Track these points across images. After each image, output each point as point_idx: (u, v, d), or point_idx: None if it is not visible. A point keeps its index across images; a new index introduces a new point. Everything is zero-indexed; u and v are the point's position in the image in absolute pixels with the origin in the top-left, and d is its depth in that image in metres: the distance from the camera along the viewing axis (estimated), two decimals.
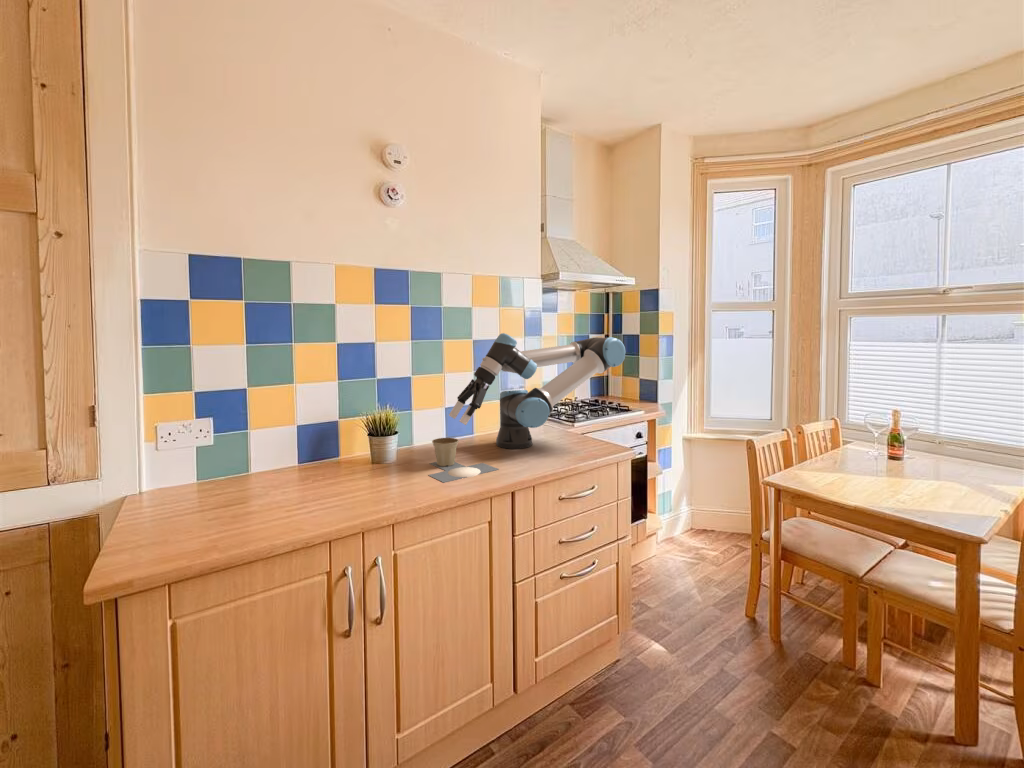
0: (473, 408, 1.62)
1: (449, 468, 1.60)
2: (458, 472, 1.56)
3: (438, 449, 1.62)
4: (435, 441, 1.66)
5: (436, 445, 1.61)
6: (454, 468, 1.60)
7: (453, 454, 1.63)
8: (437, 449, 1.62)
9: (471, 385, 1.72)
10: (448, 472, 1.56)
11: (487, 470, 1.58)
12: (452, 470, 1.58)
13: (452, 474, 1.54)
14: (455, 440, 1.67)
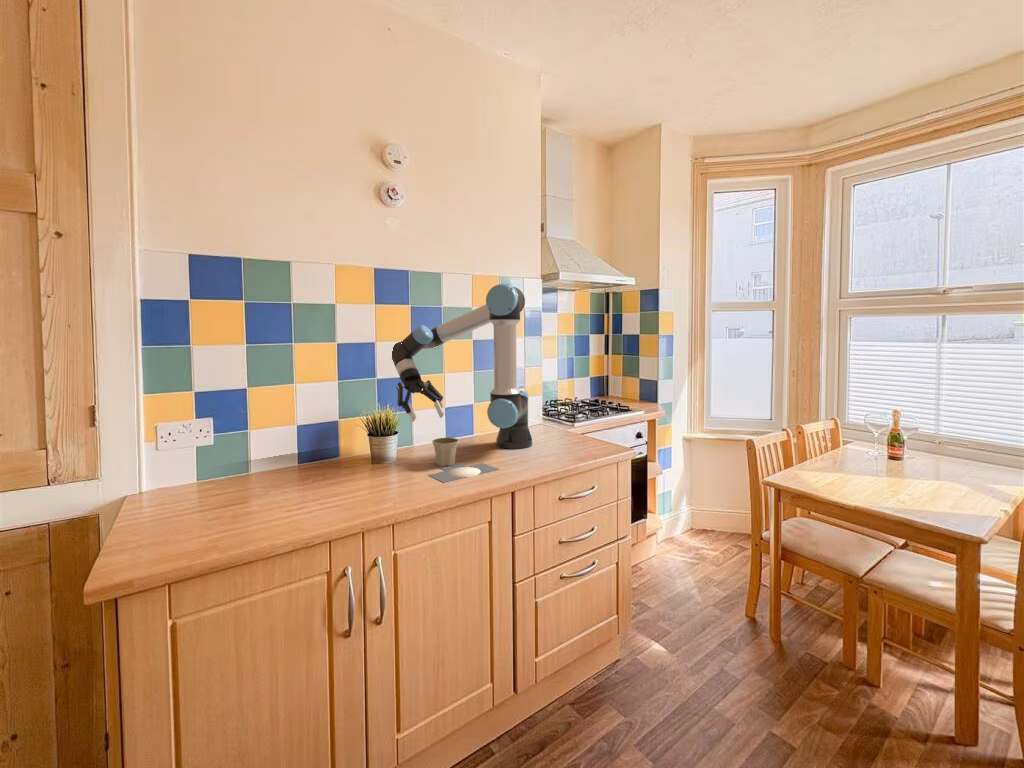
0: (404, 406, 1.71)
1: (449, 468, 1.60)
2: (458, 472, 1.56)
3: (438, 449, 1.62)
4: (435, 441, 1.66)
5: (436, 445, 1.61)
6: (454, 468, 1.60)
7: (453, 454, 1.63)
8: (437, 449, 1.62)
9: None
10: (448, 472, 1.56)
11: (487, 470, 1.58)
12: (452, 470, 1.58)
13: (452, 474, 1.54)
14: (455, 440, 1.67)
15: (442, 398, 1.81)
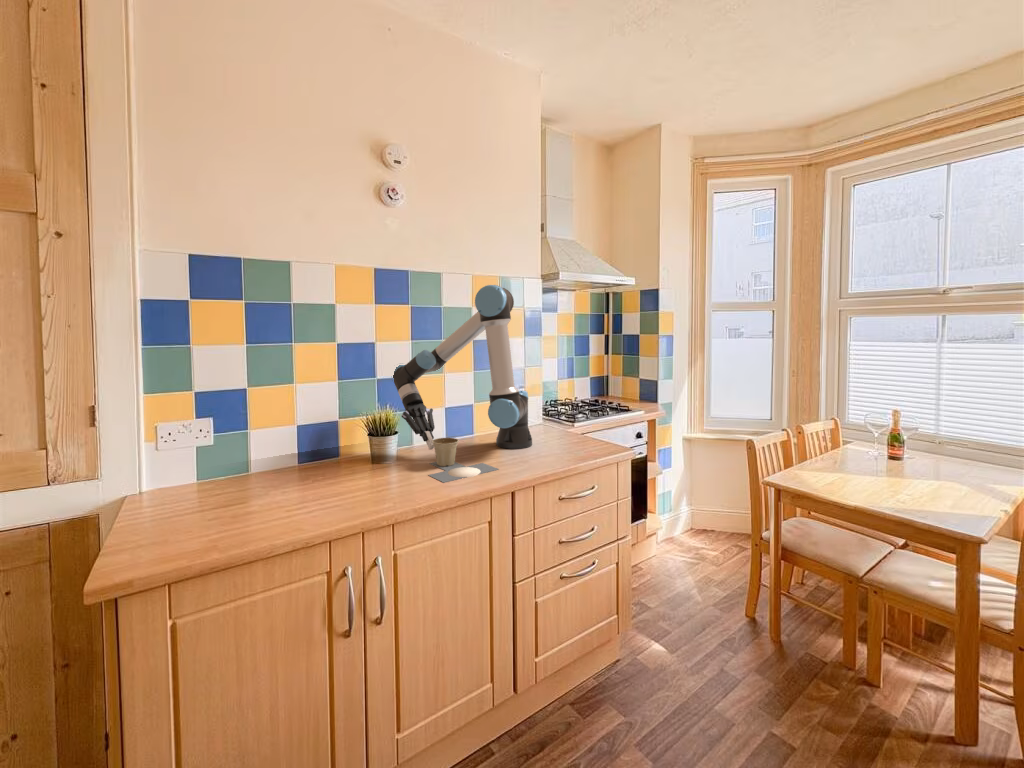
0: (421, 434, 1.74)
1: (449, 468, 1.60)
2: (458, 472, 1.56)
3: (438, 449, 1.62)
4: (435, 441, 1.66)
5: (436, 445, 1.61)
6: (454, 468, 1.60)
7: (453, 454, 1.63)
8: (437, 449, 1.62)
9: None
10: (448, 472, 1.56)
11: (487, 470, 1.58)
12: (452, 470, 1.58)
13: (452, 474, 1.54)
14: (455, 440, 1.67)
15: (433, 428, 1.77)
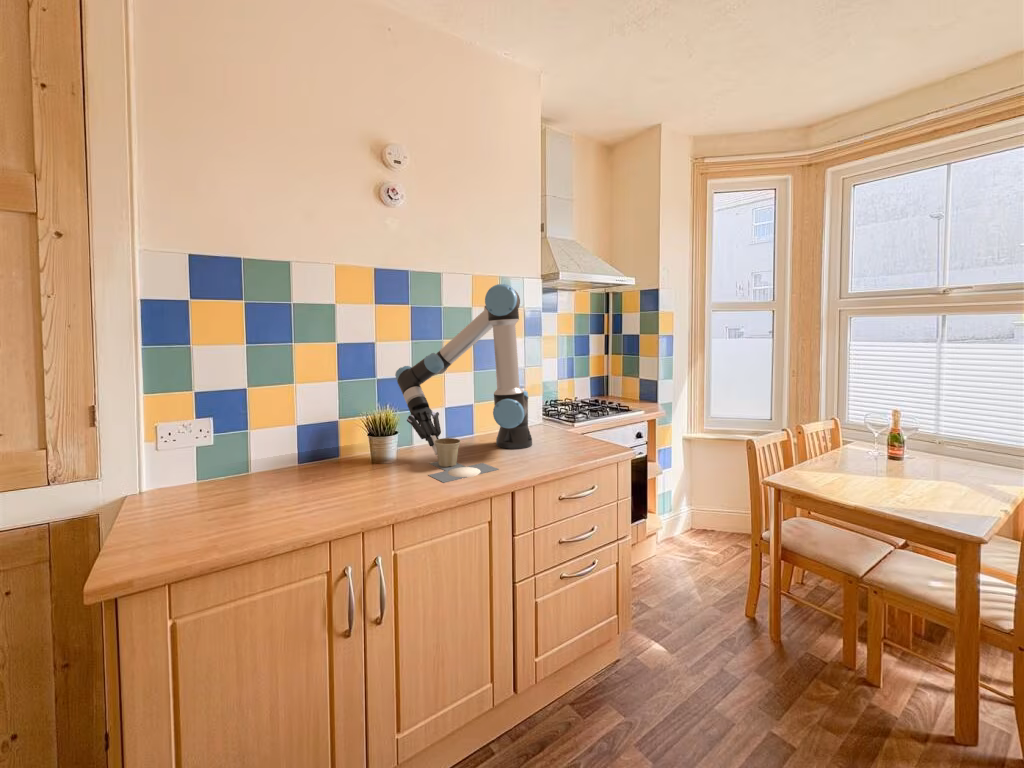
0: (427, 439, 1.69)
1: (449, 468, 1.60)
2: (458, 472, 1.56)
3: (440, 450, 1.61)
4: (436, 442, 1.65)
5: (439, 446, 1.60)
6: (454, 468, 1.60)
7: (456, 454, 1.63)
8: (440, 450, 1.61)
9: None
10: (448, 472, 1.56)
11: (487, 470, 1.58)
12: (452, 470, 1.58)
13: (452, 474, 1.54)
14: (456, 440, 1.67)
15: (439, 433, 1.72)
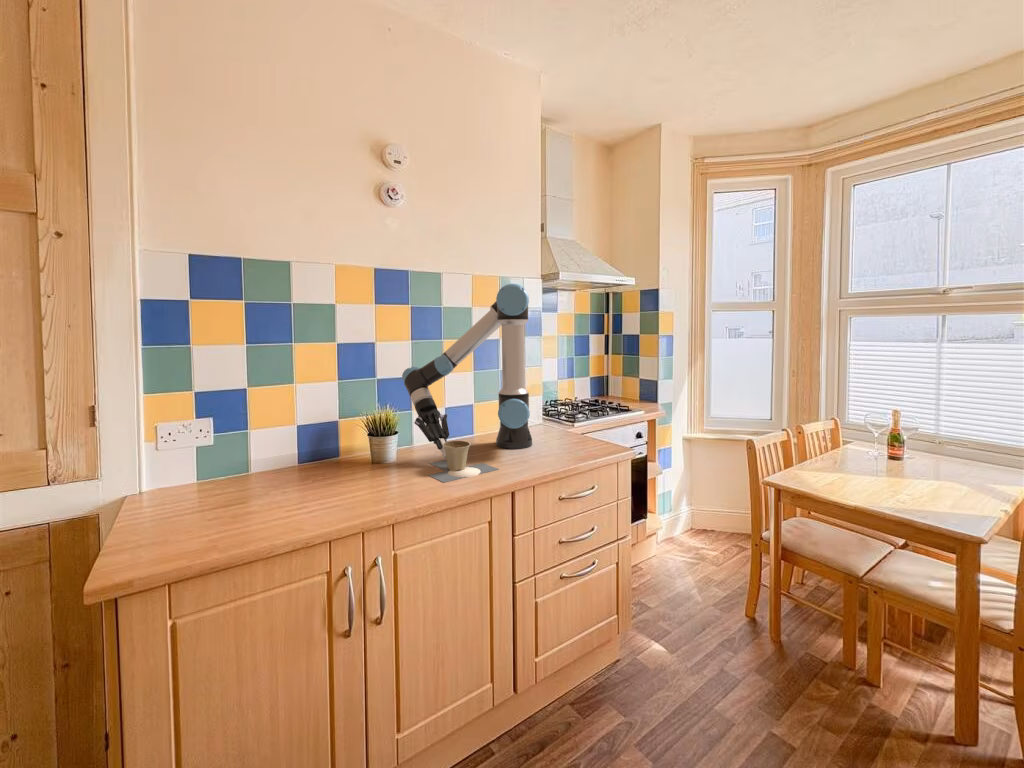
0: (435, 441, 1.65)
1: None
2: (458, 472, 1.56)
3: (450, 453, 1.56)
4: (445, 444, 1.60)
5: (449, 449, 1.56)
6: None
7: (466, 457, 1.59)
8: (450, 453, 1.56)
9: None
10: (448, 472, 1.56)
11: (487, 470, 1.58)
12: (452, 470, 1.58)
13: (452, 474, 1.54)
14: (465, 443, 1.63)
15: (447, 435, 1.67)
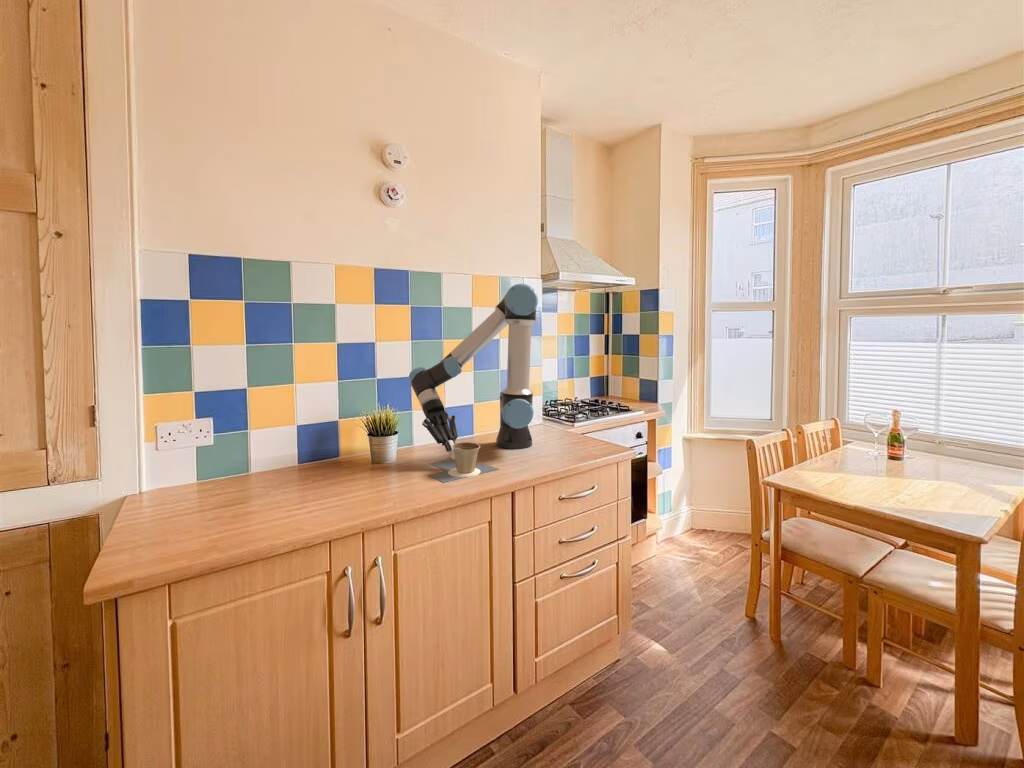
0: (444, 443, 1.61)
1: (449, 468, 1.60)
2: (458, 472, 1.56)
3: (460, 455, 1.53)
4: (454, 446, 1.57)
5: (459, 451, 1.53)
6: (454, 468, 1.60)
7: (475, 460, 1.56)
8: (459, 455, 1.53)
9: None
10: (448, 472, 1.56)
11: (487, 470, 1.58)
12: (452, 470, 1.58)
13: (452, 474, 1.54)
14: (474, 445, 1.60)
15: (456, 437, 1.64)
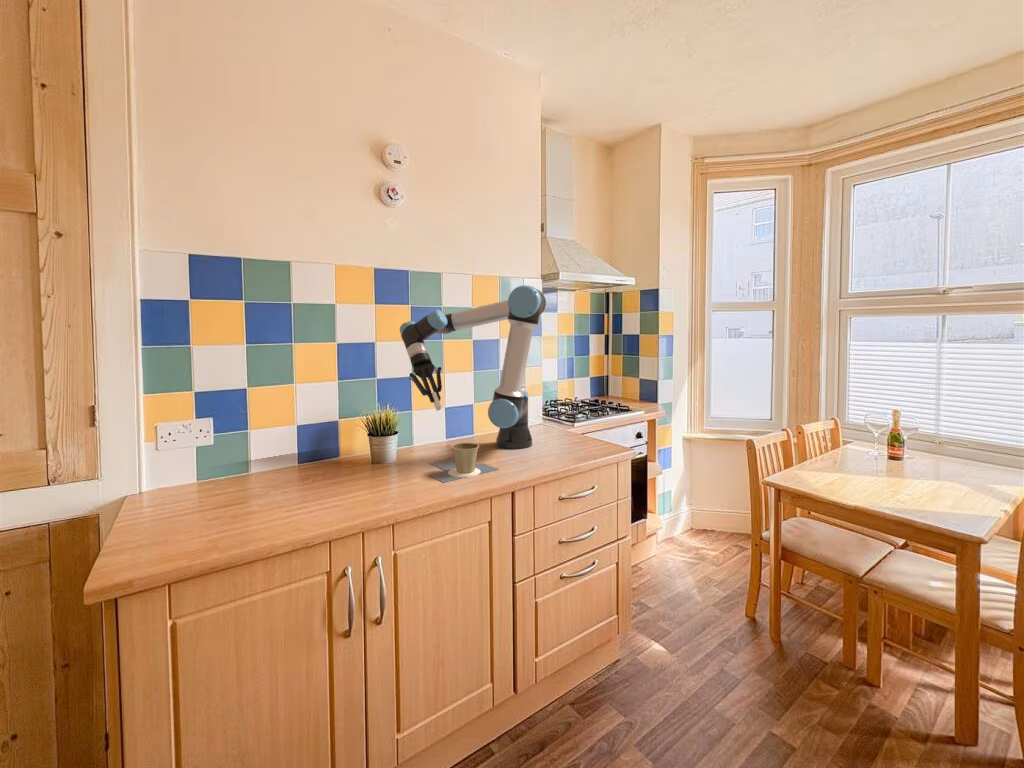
0: (428, 395, 1.74)
1: (449, 468, 1.60)
2: (458, 472, 1.56)
3: (459, 455, 1.53)
4: (453, 447, 1.58)
5: (458, 451, 1.53)
6: (454, 468, 1.60)
7: (475, 459, 1.56)
8: (459, 455, 1.53)
9: None
10: (448, 472, 1.56)
11: (487, 470, 1.58)
12: (452, 470, 1.58)
13: (452, 474, 1.54)
14: (473, 445, 1.60)
15: (440, 389, 1.76)
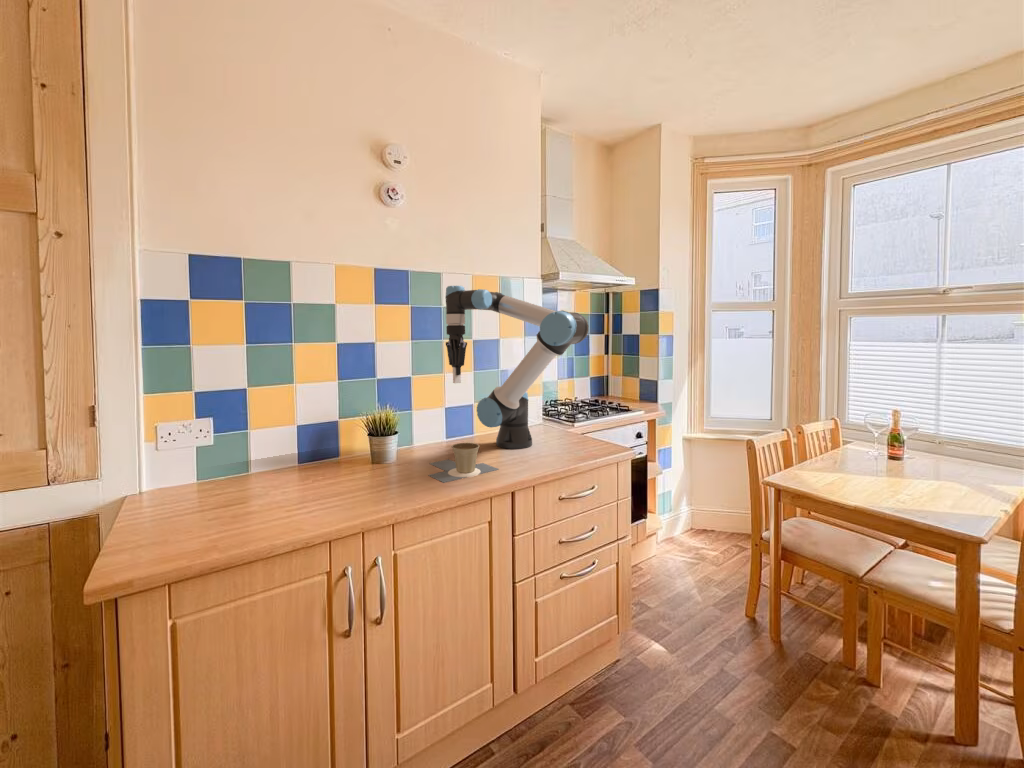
0: None
1: (449, 468, 1.60)
2: (458, 472, 1.56)
3: (460, 455, 1.53)
4: (453, 447, 1.58)
5: (458, 451, 1.53)
6: (454, 468, 1.60)
7: (475, 459, 1.56)
8: (459, 455, 1.53)
9: None
10: (448, 472, 1.56)
11: (487, 470, 1.58)
12: (452, 470, 1.58)
13: (452, 474, 1.54)
14: (474, 445, 1.60)
15: (458, 365, 1.86)
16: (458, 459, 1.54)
